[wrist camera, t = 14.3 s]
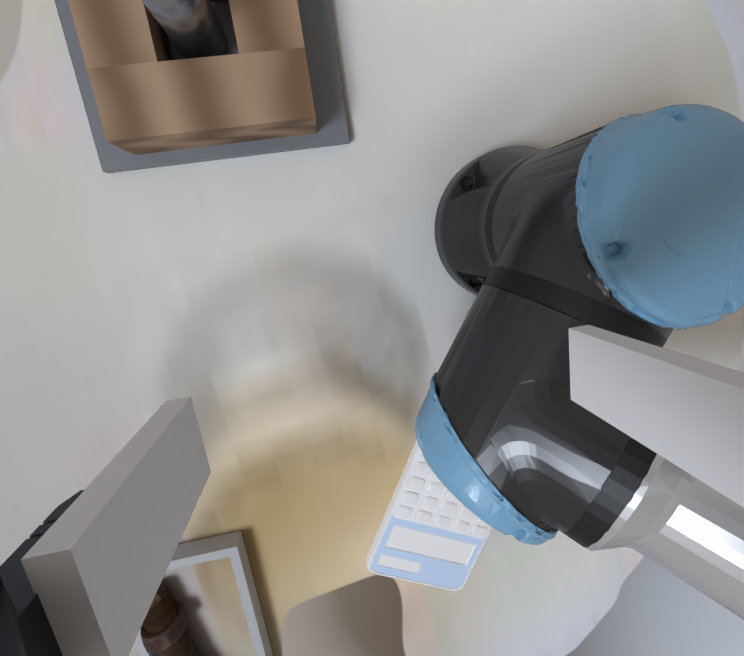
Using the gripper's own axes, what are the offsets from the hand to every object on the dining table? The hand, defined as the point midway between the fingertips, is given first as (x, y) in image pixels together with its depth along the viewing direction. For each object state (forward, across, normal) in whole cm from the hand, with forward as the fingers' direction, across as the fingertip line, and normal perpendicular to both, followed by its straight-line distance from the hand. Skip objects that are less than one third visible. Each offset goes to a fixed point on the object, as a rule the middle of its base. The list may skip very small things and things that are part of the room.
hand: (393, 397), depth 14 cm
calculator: (+29, -8, +28) cm, 41 cm away
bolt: (+29, +25, +36) cm, 53 cm away
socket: (+29, +8, -23) cm, 38 cm away
